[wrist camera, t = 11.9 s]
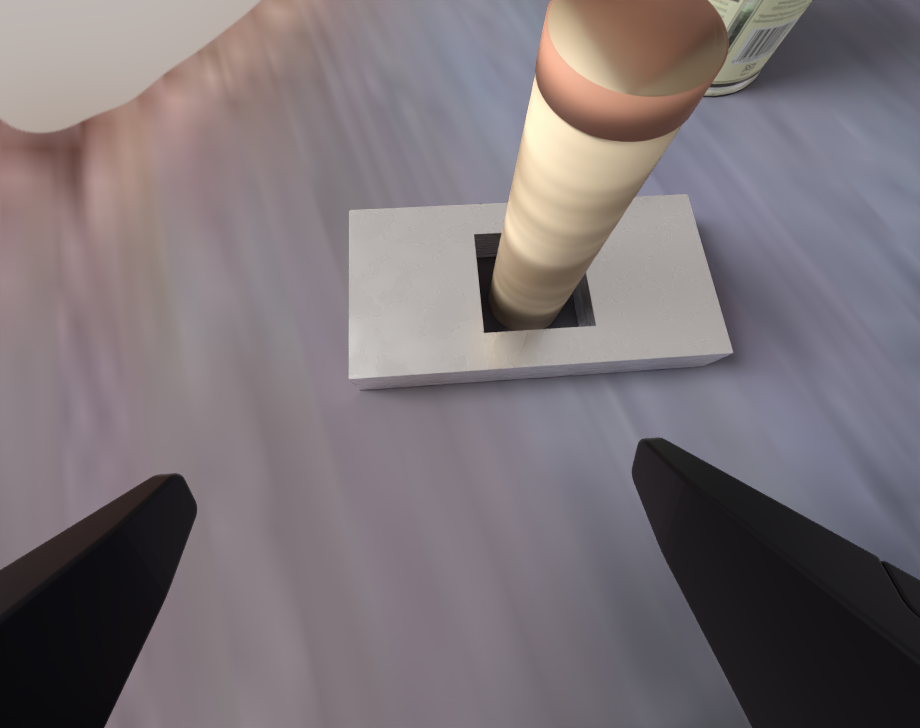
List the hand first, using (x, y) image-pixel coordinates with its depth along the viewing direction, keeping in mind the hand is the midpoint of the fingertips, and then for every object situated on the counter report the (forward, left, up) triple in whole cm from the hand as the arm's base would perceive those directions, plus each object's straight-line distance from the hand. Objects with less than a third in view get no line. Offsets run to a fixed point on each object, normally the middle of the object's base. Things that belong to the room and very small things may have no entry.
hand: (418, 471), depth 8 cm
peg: (+10, -6, -14) cm, 18 cm away
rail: (+10, -6, -14) cm, 18 cm away
